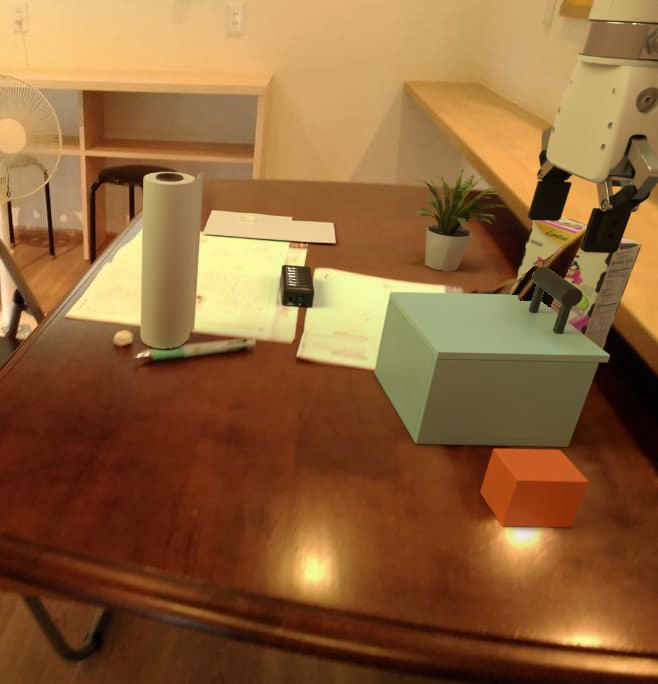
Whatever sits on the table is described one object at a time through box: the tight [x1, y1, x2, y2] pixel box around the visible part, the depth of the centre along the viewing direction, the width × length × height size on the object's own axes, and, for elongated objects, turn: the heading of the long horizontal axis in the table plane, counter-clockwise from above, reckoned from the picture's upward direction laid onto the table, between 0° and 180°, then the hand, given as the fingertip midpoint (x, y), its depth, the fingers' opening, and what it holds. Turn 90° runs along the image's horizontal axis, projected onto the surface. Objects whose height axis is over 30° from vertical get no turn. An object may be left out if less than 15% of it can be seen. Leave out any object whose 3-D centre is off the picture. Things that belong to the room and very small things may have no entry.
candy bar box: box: [515, 215, 643, 350], centre depth 85 cm, size 11×5×16 cm, turn 22°
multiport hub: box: [279, 264, 315, 308], centre depth 104 cm, size 4×11×2 cm, turn 171°
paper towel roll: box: [139, 171, 205, 350], centre depth 85 cm, size 7×6×21 cm
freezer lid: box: [388, 267, 611, 363], centre depth 71 cm, size 16×15×6 cm
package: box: [479, 447, 589, 528], centre depth 60 cm, size 6×4×5 cm
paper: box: [202, 209, 337, 244], centre depth 133 cm, size 25×17×1 cm
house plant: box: [414, 168, 509, 272], centre depth 112 cm, size 14×14×16 cm
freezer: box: [373, 298, 600, 448], centre depth 74 cm, size 16×15×10 cm
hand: (568, 234), depth 67 cm, fingers open, 9 cm apart
